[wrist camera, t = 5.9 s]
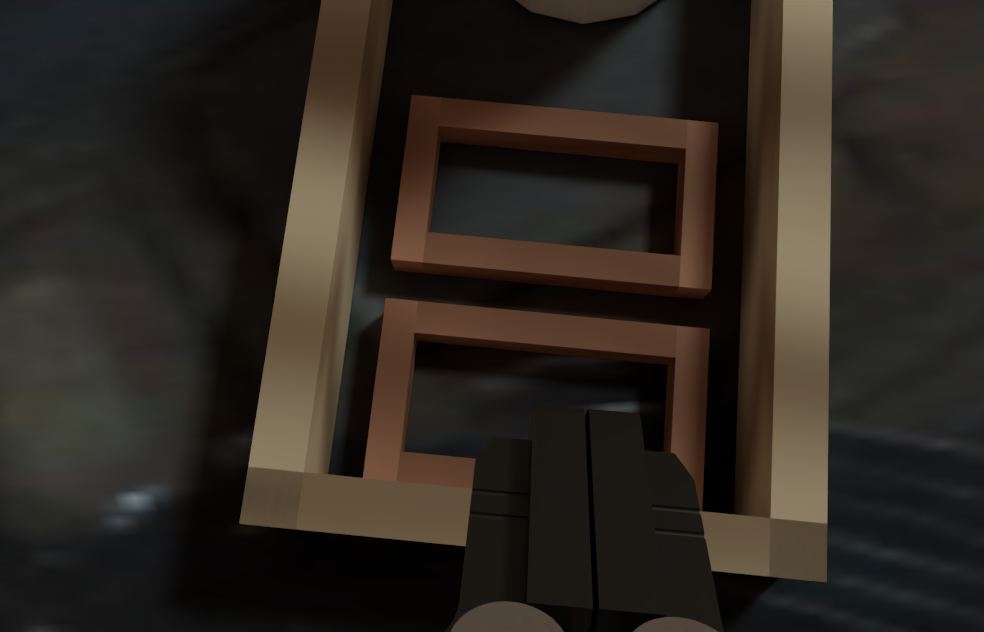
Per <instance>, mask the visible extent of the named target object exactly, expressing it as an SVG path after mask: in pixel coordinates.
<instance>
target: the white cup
mask: <svg viewBox="0 0 984 632" xmlns="http://www.w3.org/2000/svg"><path fill="white" fill-rule="evenodd" d="M515 1H517V2H518V3H519V4H521V5H522V6H523V7H525V8H526V9H527V10H529V11H530V12H533V13H537V14H541V15H546V16H550V17H554V18H558V19H563V20H567V21H571V22H575V23H580V24H588V23H593V22H599V21H605V20H610V19H616V18H622V17H627V16H633V15H636V14H638V13H639V12H641V11H642V10H644V9H645V8H647V7H648V6H649V5H651V4H652V3H654V2H655V1H657V0H515Z"/></svg>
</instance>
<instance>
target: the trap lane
mask: <svg viewBox="0 0 984 632" xmlns="http://www.w3.org/2000/svg"><path fill="white" fill-rule="evenodd" d="M392 3H393V0H321V7H320V13H319V19H318V26H317V32H316V38H315V45H314V51H313V58H312V64H311V70H310V77H309V83H308V89H307V96H306V102H305V108H304V115H303V121H302V128H301V134H300V140H299V147H298V153H297V159H296V166H295V172H294V178H293V185H292V191H291V198H290V204H289V210H288V217H287V223H286V229H285V236H284V242H283V248H282V255H281V261H280V268H279V274H278V280H277V287H276V293H275V299H274V306H273V312H272V318H271V325H270V331H269V338H268V344H267V350H266V357H265V363H264V369H263V376H262V382H261V388H260V395H259V401H258V408H257V414H256V420H255V427H254V433H253V439H252V446H251V452H250V458H249V465H248V471H247V478H246V484H245V490H244V497H243V503H242V509H241V516H240V522H239V524H247V525H257V526H267V527H277V528H287V529H297V530H307V531H317V532H327V533H337V534H347V535H357V536H367V537H377V538H387V539H397V540H407V541H417V542H427V543H437V544H448V545H458V546H466V538H467V530H468V521H469V512H470V503H471V494H472V486H473V477H474V468H475V460H476V459H473V458H462V457H452V456H442V455H432V454H422V453H411V452H404V449H405V440H406V432H407V423H408V415H409V406H410V398H411V390H412V381H413V373H414V364H415V356H416V347H417V341H422V342H433V343H443V344H453V345H464V346H474V347H485V348H495V349H505V350H516V351H526V352H537V353H547V354H557V355H568V356H578V357H589V358H599V359H610V360H620V361H630V362H641V363H651V364H662V365H668V370H667V389H666V408H665V427H664V446H663V452H668V453H675V454H676V456H677V457H678V458H679V460H680V461H681V462H682V464H683V465H684V466H685V468H686V469H687V470H688V472H689V473H690V475H691V476H692V477H693V479H694V480H695V486H696V491H697V496H698V501H699V506H700V514H701V517H702V522H703V527H704V538H705V539H706V543H707V548H708V554H709V559H710V564H711V569H712V571H719V572H729V573H739V574H749V575H759V576H769V577H779V578H789V579H799V580H809V581H819V582H827V488H828V394H829V300H830V206H831V112H832V18H833V0H751V22H750V51H749V80H748V110H747V139H746V169H745V198H744V227H743V257H742V286H741V316H740V345H739V375H738V404H737V433H736V463H735V492H734V514H724V513H714V512H703V511H702V504H703V480H704V456H705V433H706V409H707V385H708V361H709V337H710V329H706V328H696V327H686V326H675V325H665V324H654V323H644V322H633V321H623V320H612V319H602V318H591V317H581V316H570V315H560V314H549V313H539V312H528V311H518V310H507V309H497V308H486V307H476V306H465V305H455V304H444V303H434V302H423V301H413V300H402V299H392V298H386V300H385V308H384V316H383V324H382V332H381V339H380V347H379V355H378V363H377V371H376V379H375V386H374V394H373V402H372V410H371V418H370V425H369V433H368V441H367V449H366V457H365V465H364V472H363V478H358V477H348V476H338V475H328V471H329V464H330V456H331V449H332V442H333V434H334V427H335V420H336V412H337V405H338V398H339V390H340V383H341V376H342V368H343V361H344V354H345V347H346V339H347V332H348V325H349V317H350V310H351V303H352V295H353V288H354V281H355V273H356V266H357V259H358V251H359V244H360V237H361V229H362V222H363V215H364V208H365V200H366V193H367V186H368V178H369V171H370V164H371V156H372V149H373V142H374V134H375V127H376V120H377V112H378V105H379V98H380V91H381V83H382V76H383V69H384V61H385V54H386V47H387V39H388V32H389V25H390V17H391V10H392ZM441 142H447V143H458V144H468V145H479V146H490V147H501V148H512V149H522V150H533V151H544V152H555V153H566V154H576V155H587V156H598V157H609V158H620V159H630V160H641V161H652V162H663V163H674V164H678V179H677V198H676V217H675V236H674V255H666V254H656V253H645V252H634V251H624V250H613V249H602V248H592V247H581V246H571V245H560V244H549V243H539V242H528V241H517V240H507V239H496V238H486V237H475V236H464V235H454V234H443V233H432V232H430V229H431V220H432V212H433V203H434V195H435V186H436V178H437V170H438V161H439V153H440V144H441ZM717 146H718V123H714V122H703V121H693V120H682V119H671V118H660V117H649V116H638V115H627V114H616V113H605V112H594V111H584V110H573V109H562V108H551V107H540V106H529V105H518V104H507V103H496V102H486V101H475V100H464V99H453V98H442V97H431V96H420V95H412V97H411V105H410V113H409V120H408V128H407V136H406V144H405V152H404V159H403V167H402V175H401V183H400V191H399V199H398V206H397V214H396V222H395V230H394V238H393V246H392V253H391V262H392V264H393V267H394V270H395V271H404V272H415V273H425V274H436V275H446V276H457V277H467V278H478V279H488V280H499V281H509V282H520V283H531V284H541V285H552V286H562V287H573V288H583V289H594V290H604V291H615V292H625V293H636V294H646V295H657V296H668V297H678V298H689V299H699V300H702V299H703V298H704V297H705V296H706V295H707V294H708V293H709V292H710V291H711V289H712V265H713V242H714V218H715V194H716V170H717Z"/></svg>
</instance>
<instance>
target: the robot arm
mask: <svg viewBox="0 0 984 632" xmlns="http://www.w3.org/2000/svg"><path fill="white" fill-rule="evenodd" d="M445 632H724V630H723V626H722V622H721V616H720V611H719V606H718V601H717V595H716V590H715V585H714V580H713V575H712V569H711V564H710V559H709V554H708V548H707V543H706V539H705V538H704V527H703V522H702V517H701V514H700V506H699V501H698V496H697V491H696V486H695V480H694V479H693V477H692V476H691V475H690V473H689V472H688V470H687V469H686V468H685V466H684V465H683V464H682V462H681V461H680V460H679V458H678V457H677V456H676V454H675V453H668V452H657V451H646V450H645V449H644V441H643V433H642V425H641V418H640V415H639V414H638V413H627V412H615V411H604V410H593V409H587V411H586V415H585V413H584V409H580V408H568V407H557V406H546V405H535V404H533V407H532V413H531V422H530V431H529V440H522V439H510V438H499V437H493V438H492V439H491V440H490V442H489V443H488V444H487V446H486V447H485V448H484V450H483V451H482V452H481V453H480V455H479V456H478V457H477V459H476V460H475V468H474V477H473V486H472V494H471V503H470V512H469V521H468V530H467V538H466V547H465V556H464V565H463V573H462V582H461V591H460V600H459V605H458V610H457V613H456V615H455V617H454V619H453V621H452V623H451V624H450V626H449V627H448V628H447V629H446V631H445Z"/></svg>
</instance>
